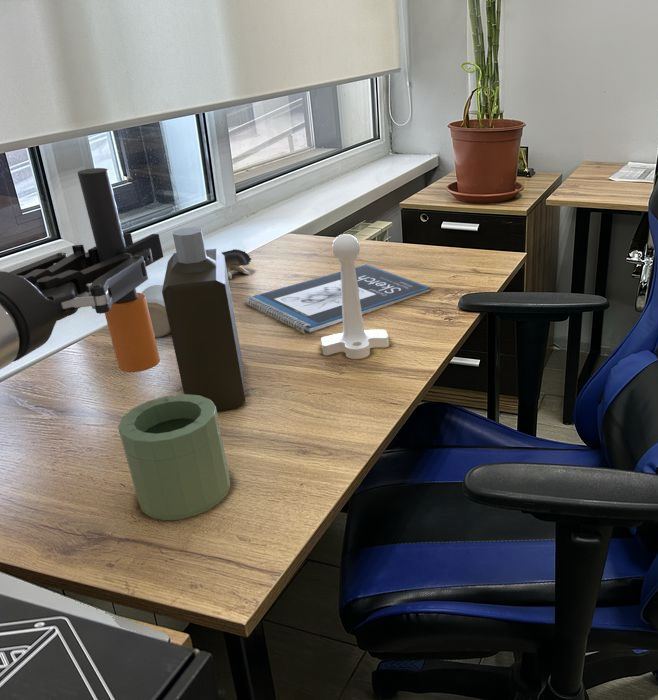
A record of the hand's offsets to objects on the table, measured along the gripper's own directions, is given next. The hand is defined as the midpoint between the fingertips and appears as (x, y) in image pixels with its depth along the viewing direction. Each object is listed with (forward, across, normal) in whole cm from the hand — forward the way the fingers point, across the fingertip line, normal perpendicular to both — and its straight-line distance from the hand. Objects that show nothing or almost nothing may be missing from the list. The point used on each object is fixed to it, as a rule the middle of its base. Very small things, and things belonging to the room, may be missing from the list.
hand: (143, 245), depth 81 cm
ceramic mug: (+36, -25, -28) cm, 52 cm away
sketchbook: (+56, +1, -28) cm, 62 cm away
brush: (-5, 0, -12) cm, 14 cm away
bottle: (+16, -5, -28) cm, 33 cm away
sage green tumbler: (-8, +4, -28) cm, 30 cm away
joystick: (+33, +12, -28) cm, 45 cm away
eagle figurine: (+64, -27, -28) cm, 75 cm away
